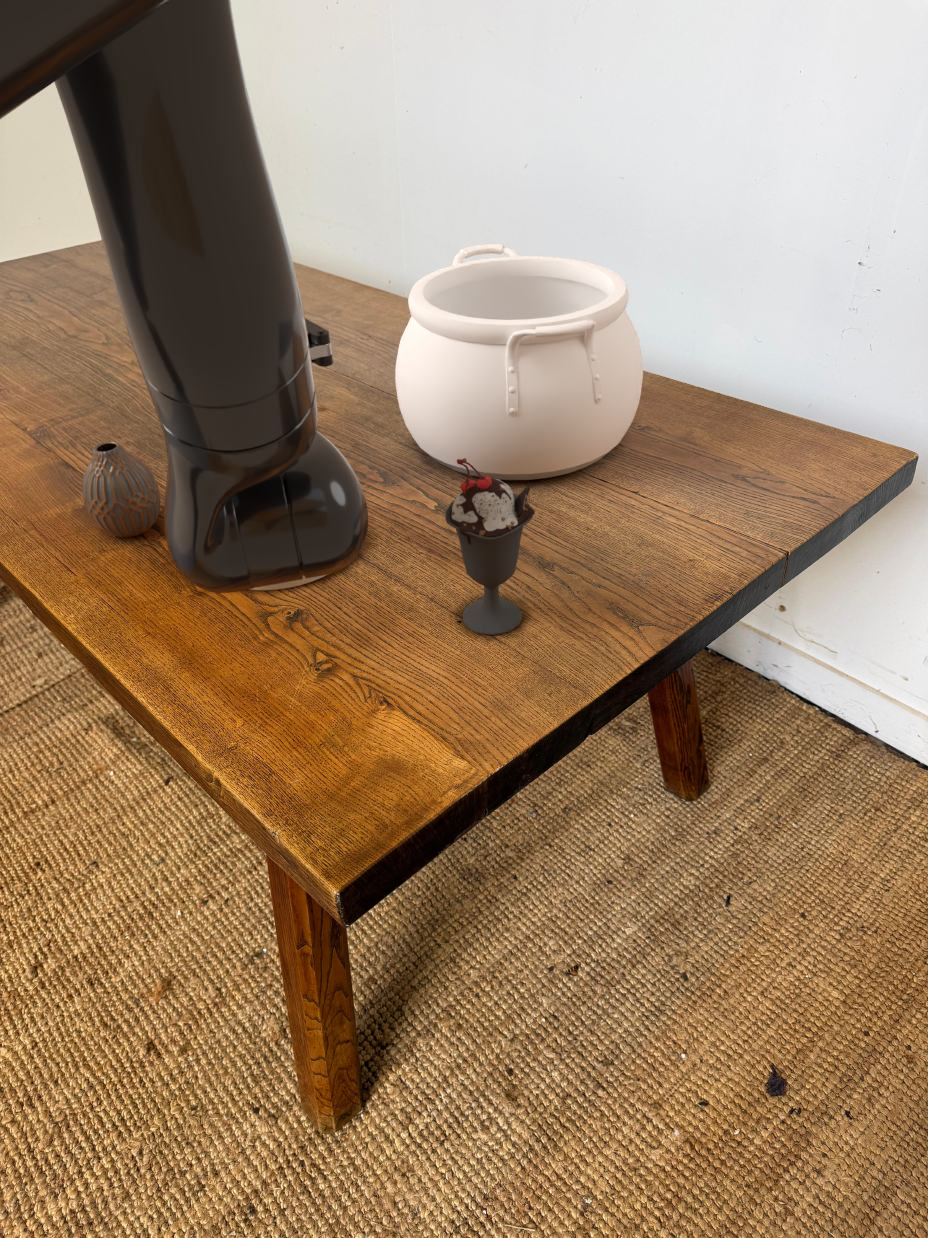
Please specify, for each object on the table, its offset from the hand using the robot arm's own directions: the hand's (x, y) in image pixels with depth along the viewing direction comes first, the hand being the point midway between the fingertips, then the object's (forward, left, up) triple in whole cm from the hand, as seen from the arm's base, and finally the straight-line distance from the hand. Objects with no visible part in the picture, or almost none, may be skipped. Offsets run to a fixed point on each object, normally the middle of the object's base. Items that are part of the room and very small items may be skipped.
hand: (237, 319), depth 73 cm
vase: (-14, +5, -21) cm, 26 cm away
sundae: (+16, -20, -21) cm, 33 cm away
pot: (+28, +11, -21) cm, 37 cm away
